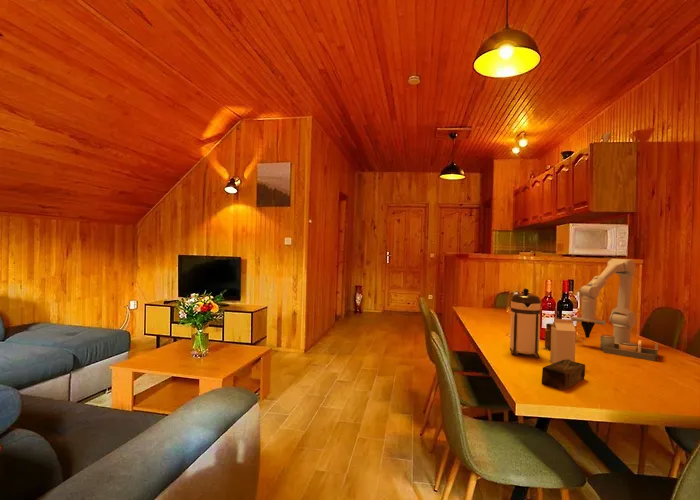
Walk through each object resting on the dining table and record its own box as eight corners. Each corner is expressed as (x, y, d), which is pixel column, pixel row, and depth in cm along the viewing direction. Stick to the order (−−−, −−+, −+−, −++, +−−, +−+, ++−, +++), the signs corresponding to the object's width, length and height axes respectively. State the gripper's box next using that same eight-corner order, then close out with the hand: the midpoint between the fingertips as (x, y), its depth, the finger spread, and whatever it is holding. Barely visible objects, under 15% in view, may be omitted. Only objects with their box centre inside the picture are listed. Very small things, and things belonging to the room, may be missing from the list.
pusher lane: (606, 347, 187) (607, 337, 187) (657, 355, 174) (657, 344, 174) (603, 352, 177) (604, 341, 177) (657, 361, 164) (657, 350, 164)
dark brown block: (586, 380, 139) (586, 362, 139) (564, 392, 127) (565, 372, 127) (563, 373, 145) (563, 357, 145) (540, 384, 133) (541, 366, 133)
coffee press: (552, 357, 167) (554, 289, 166) (524, 360, 161) (526, 290, 160) (521, 347, 183) (522, 285, 182) (495, 349, 177) (497, 286, 176)
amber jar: (619, 350, 181) (619, 340, 181) (636, 353, 177) (637, 343, 176) (617, 353, 176) (618, 343, 176) (636, 356, 171) (636, 345, 171)
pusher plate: (638, 352, 178) (638, 339, 178) (641, 352, 177) (641, 340, 177) (637, 356, 170) (637, 344, 170) (640, 357, 169) (640, 344, 169)
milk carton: (574, 368, 152) (576, 321, 152) (555, 366, 154) (557, 320, 153) (568, 362, 159) (569, 318, 159) (550, 361, 160) (551, 317, 160)
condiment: (547, 346, 185) (548, 322, 185) (566, 350, 179) (566, 325, 179) (540, 348, 181) (541, 324, 181) (559, 353, 174) (560, 327, 174)
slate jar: (601, 347, 185) (601, 333, 185) (615, 350, 181) (615, 335, 181) (599, 350, 181) (599, 335, 181) (613, 352, 177) (614, 337, 177)
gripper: (570, 309, 188) (569, 336, 188) (605, 313, 178) (604, 341, 179) (572, 307, 193) (571, 333, 193) (606, 311, 184) (605, 338, 184)
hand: (587, 337), depth 186 cm, fingers closed
